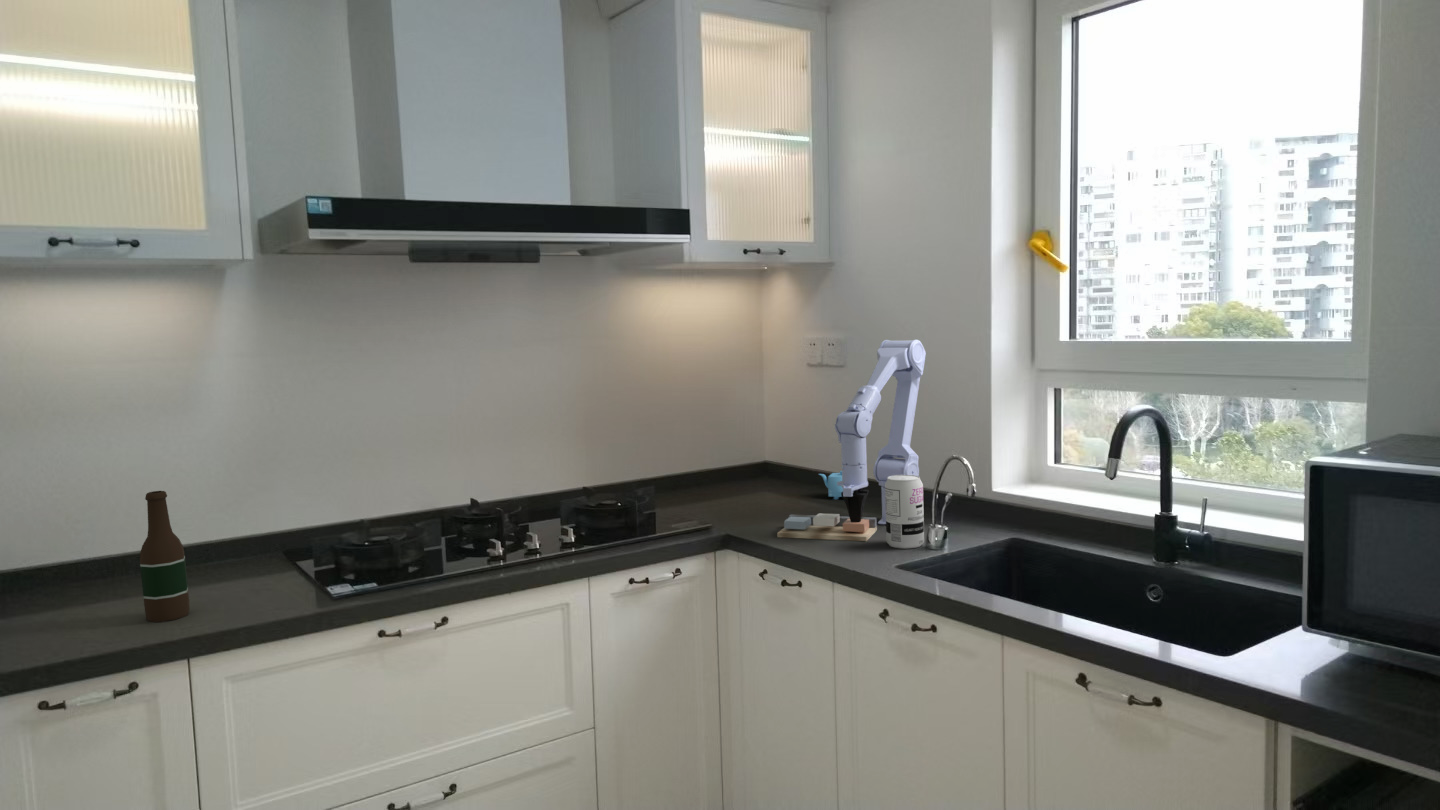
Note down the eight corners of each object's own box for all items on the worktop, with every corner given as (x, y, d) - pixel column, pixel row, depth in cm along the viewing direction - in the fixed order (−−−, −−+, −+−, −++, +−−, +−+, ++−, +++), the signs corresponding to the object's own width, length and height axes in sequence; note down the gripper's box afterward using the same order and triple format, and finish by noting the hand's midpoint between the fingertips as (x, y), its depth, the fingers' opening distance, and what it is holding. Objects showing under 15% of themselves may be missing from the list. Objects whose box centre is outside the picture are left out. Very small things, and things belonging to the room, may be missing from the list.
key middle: (839, 521, 234) (839, 514, 234) (834, 526, 229) (834, 518, 229) (819, 520, 236) (818, 513, 236) (813, 525, 231) (813, 517, 231)
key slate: (811, 524, 237) (810, 517, 236) (805, 529, 232) (804, 521, 232) (790, 523, 238) (790, 516, 238) (784, 528, 234) (784, 521, 234)
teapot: (816, 499, 274) (815, 472, 273) (821, 495, 280) (820, 468, 279) (860, 500, 270) (859, 473, 269) (864, 496, 276) (863, 469, 275)
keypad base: (876, 530, 235) (876, 517, 234) (866, 541, 224) (866, 528, 224) (791, 526, 242) (790, 514, 242) (777, 537, 232) (776, 524, 232)
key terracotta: (869, 527, 232) (869, 519, 231) (864, 532, 227) (864, 524, 227) (848, 526, 233) (847, 518, 233) (842, 531, 229) (842, 523, 229)
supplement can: (889, 539, 225) (887, 474, 223) (926, 540, 222) (924, 474, 221) (883, 548, 217) (881, 480, 216) (922, 549, 215) (920, 481, 213)
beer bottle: (199, 609, 194) (187, 487, 191) (178, 621, 186) (166, 494, 184) (158, 611, 193) (145, 489, 191) (136, 624, 186) (123, 496, 183)
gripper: (844, 458, 237) (846, 514, 238) (829, 468, 223) (831, 527, 225) (874, 458, 234) (875, 515, 236) (860, 468, 221) (861, 529, 222)
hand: (855, 521), depth 230 cm, fingers closed, pressing on key terracotta
